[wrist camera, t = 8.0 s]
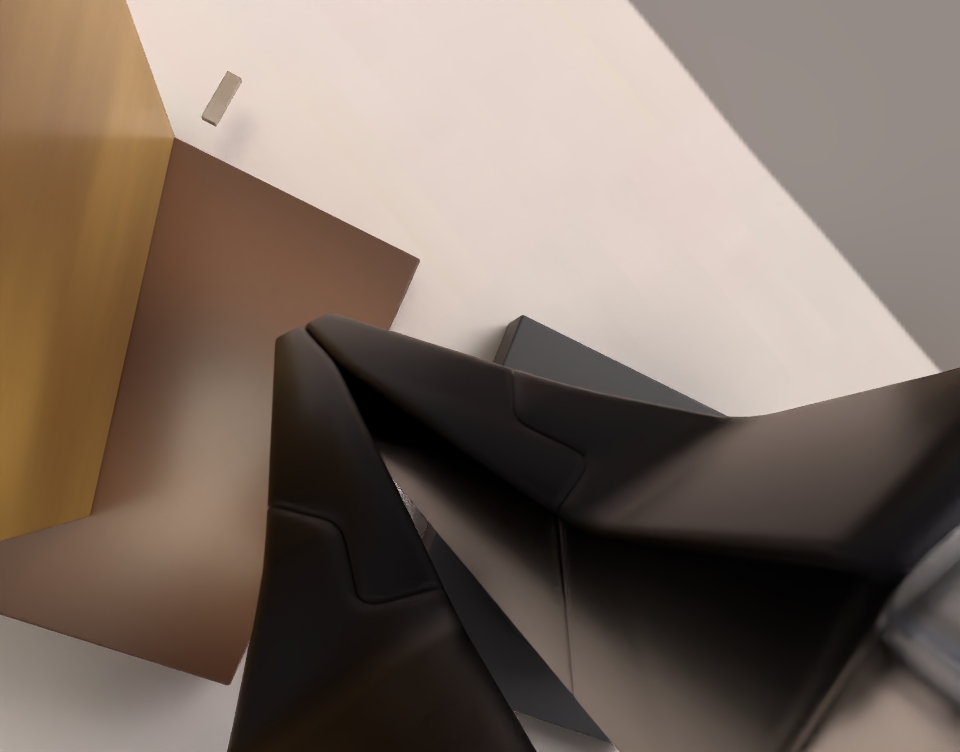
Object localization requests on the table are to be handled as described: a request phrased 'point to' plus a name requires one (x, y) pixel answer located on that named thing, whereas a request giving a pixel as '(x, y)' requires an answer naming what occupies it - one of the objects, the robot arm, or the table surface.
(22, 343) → the upright square tan panel
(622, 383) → the opener housing
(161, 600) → the brown square slab
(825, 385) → the table surface
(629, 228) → the table surface
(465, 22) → the table surface
